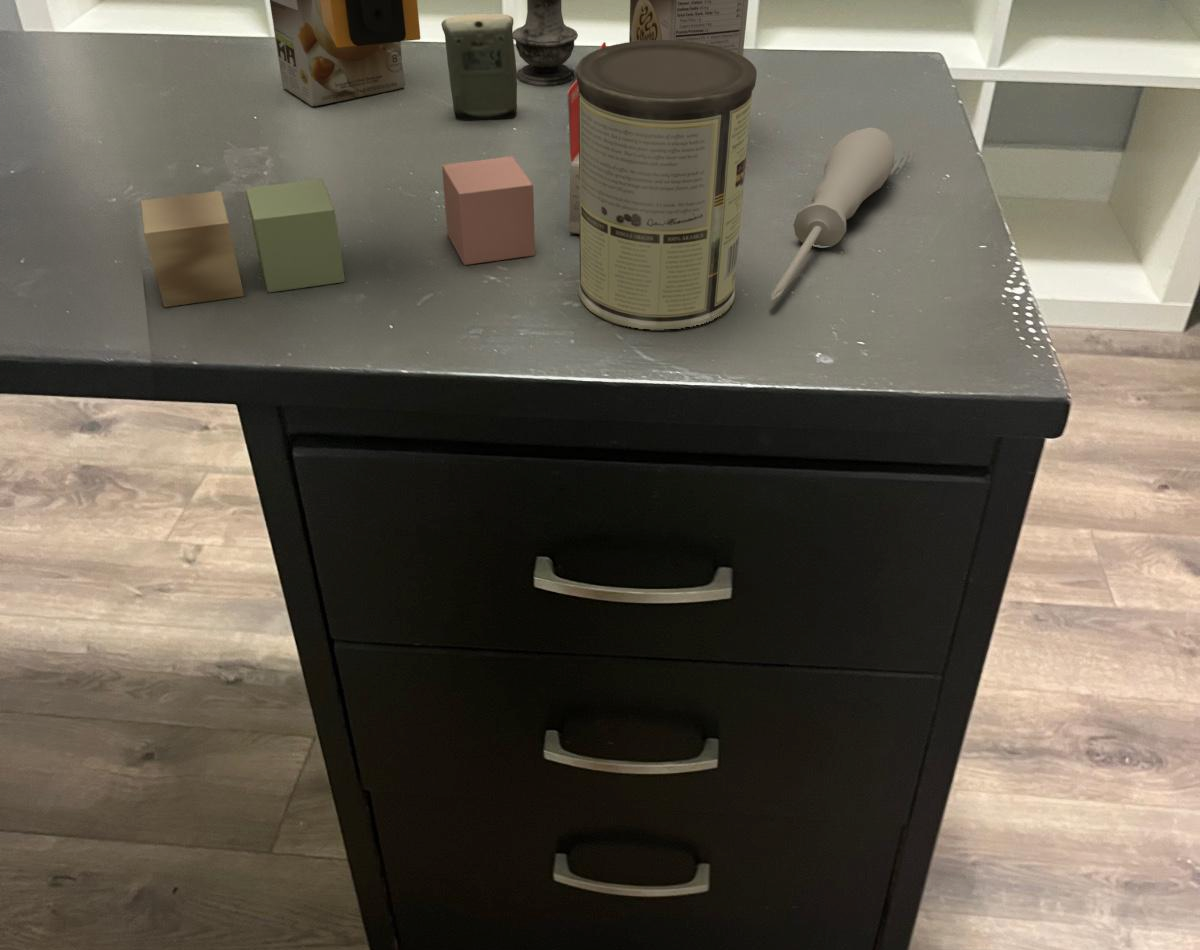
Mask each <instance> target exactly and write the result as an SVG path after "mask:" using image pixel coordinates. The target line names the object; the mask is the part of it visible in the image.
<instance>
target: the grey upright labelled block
mask: <svg viewBox="0 0 1200 950" xmlns="http://www.w3.org/2000/svg"><path fill="white" fill-rule="evenodd" d="M440 25H441V29H442V32H443V34H444V42H445V51H446V61H447V68H448V77H449V85H450V92H451V98H452V109H453V114H454V118H455V119H456V120H460V121H474V120H475V121H476V120H494V119H496V120H497V119H509V118H513V117H515V116H516V115H517V111H518V78H517V72H518V71H517V61H516V52H515V51H516V50H515V43H514V41H515V40H514V39H513V31H514V30H513V27H514V17H512V16H510V15H509V14H506V13H505V14H504V13H502V14H501V13H478V14H477V13H476V14H461V15H457V16H450V17H447V18H445V19H444V20H442V22H441V24H440Z"/></svg>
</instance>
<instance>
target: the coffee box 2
mask: <svg viewBox="0 0 1200 950" xmlns="http://www.w3.org/2000/svg"><path fill="white" fill-rule="evenodd" d="M748 8H749V0H629V31H628V32H629V33H628V35H629V36H628V37H629V39H628V42H634V41H643V40H677V41H689V42H698V43H703V44H709V45H713V46H718V47H721V48H724V49H727V50H730V51H733V52H735V53H737V54H740V55H741V56H743V57H744V52H745V51H744V49H745V40H746V29H747V19H748Z"/></svg>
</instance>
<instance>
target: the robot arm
mask: <svg viewBox="0 0 1200 950" xmlns="http://www.w3.org/2000/svg"><path fill="white" fill-rule="evenodd" d="M345 5H346V12H347V20H348V28H349V35H350V39H351V41H352V43H353V44H354V45H356V46H362V45H373V44H383V43H393V42H404V41H403V40H404V39H405V37H406V31H405V21H404V10H403V0H345Z"/></svg>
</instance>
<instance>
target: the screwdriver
mask: <svg viewBox="0 0 1200 950" xmlns="http://www.w3.org/2000/svg"><path fill="white" fill-rule="evenodd" d="M894 166H895V145H894V143H893V141H892V140H891V139H890V137H889V135H888V134H887V133H886V131H883V130H881V129H879V128H877V127H864V128H862V129H858V130H855V131H852V132H850V133H848V134H847V135H846V136H844V137H843V138H842V139H841V140H839V141H838V142H836V144H835V145H834V146H833V147H832V149H831V150H830V151H829V153H828V155H827V159H826V161H825V164H824V171H823V176H822V180H821V182H820V183H819V185H818V186H817V187H816V189H815V190H814V193H813V196H812V199H811V203H810V204H807V205H806V206H804V207H803V208H802V209H801V210H799V211H798V212H797V213H796V215H795V218H794V221H793V229H794V230H793V231H794V235H795V236H796V238H797V239H798V241H799V242H801V243H802V245H801V246H800V247H799V249H798V251H797V252H796V254H795V256H794V257H793V258H792V260H791V261H790V263H789V264H788V266H787V267H786V269H785V271H784V272H783V274H782V275H781V277H780V279H779V280H778V282H777V283H776V285H775V286H774V288H773V289H772V292H771V294H770V299H771V301H778V299H779V298H780V297H781V296H782V295H783V293H784V291H785V290H786V288H787V286H788V285H789V283H790V282H791V280H792V279H793V277H794V276H795V274H796V272H797V271H798V270H799V268H800V266H801V265H802V263H803V262H804V260H805V258H806V257H807V255H808V253H809V252H810V250H811V249H812V248H813V247H812V246H813V244H814V245H820V246H830V248H831V247H834V246H835V245H837V244H839V243H840V241H841V240H842V239H843V237H844V236H845V234H846V232H847V220H849V219H850V218H852V217H853V216H854V215H855V213H856V212H857V210H858V209H859V207H860V205H861V204H862V203H863V201H865V200H866V199H867V198H869V197H870V196H871V195H872V194H873V193H875V192H876V191H878V190H879V189H881V188H882V186H883V185H884V184H885V182H886V180H887V179H888V177H889V176H890V174H891V172H892V171H893V169H894Z"/></svg>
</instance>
